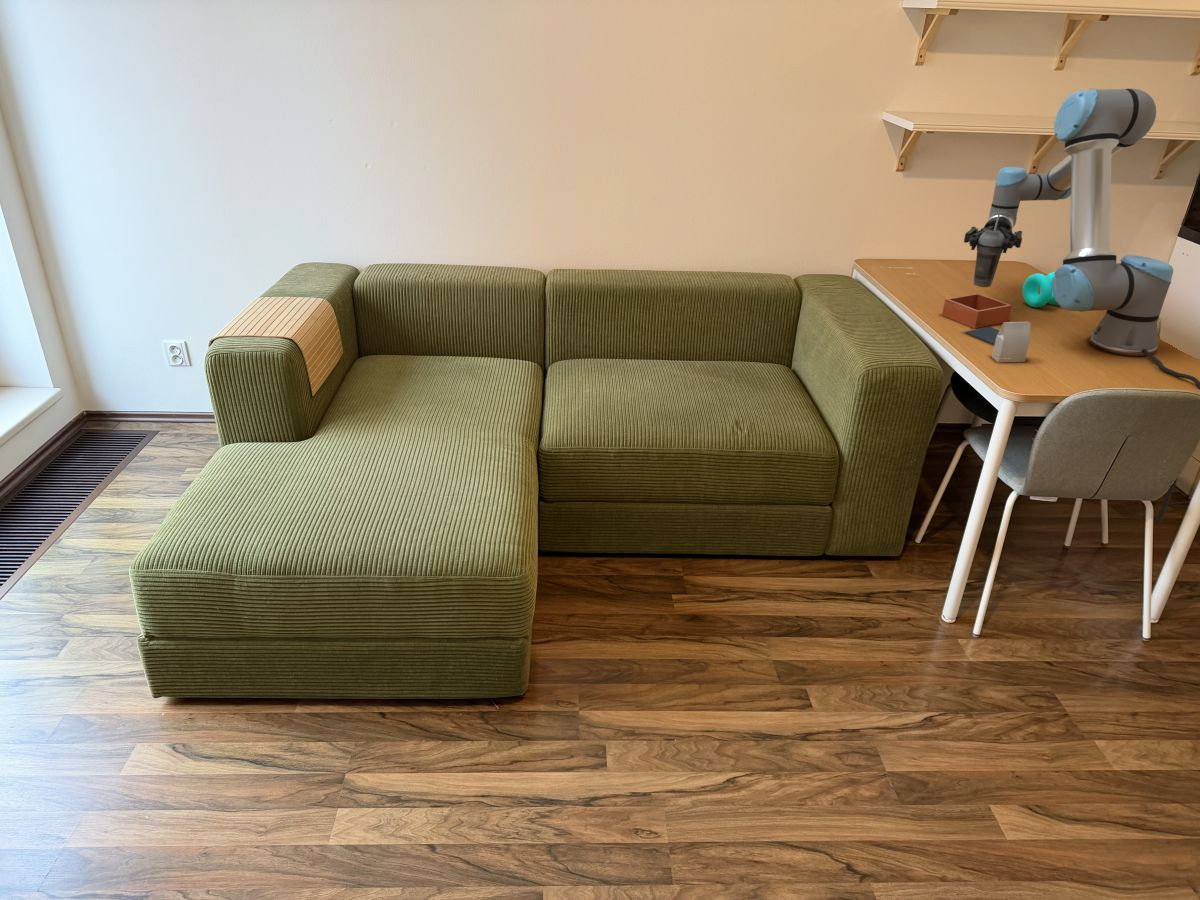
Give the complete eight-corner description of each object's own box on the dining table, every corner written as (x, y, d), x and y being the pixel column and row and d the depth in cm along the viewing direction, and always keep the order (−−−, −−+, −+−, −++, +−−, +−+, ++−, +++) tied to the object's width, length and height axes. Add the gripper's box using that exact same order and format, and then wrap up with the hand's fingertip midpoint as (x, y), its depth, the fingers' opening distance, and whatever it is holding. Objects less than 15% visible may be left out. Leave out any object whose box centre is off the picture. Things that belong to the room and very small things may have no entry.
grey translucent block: (1024, 361, 204) (1034, 324, 199) (998, 362, 203) (1007, 325, 199) (1017, 356, 207) (1026, 319, 202) (991, 356, 207) (1000, 320, 202)
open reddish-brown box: (1008, 321, 229) (1012, 305, 227) (974, 328, 225) (978, 311, 223) (974, 309, 240) (977, 293, 237) (941, 315, 235) (945, 298, 233)
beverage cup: (991, 281, 230) (1006, 210, 221) (999, 288, 224) (1016, 216, 214) (965, 280, 231) (979, 210, 221) (972, 288, 224) (988, 216, 215)
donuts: (1069, 308, 238) (1077, 275, 234) (1041, 312, 236) (1049, 279, 231) (1043, 298, 247) (1052, 266, 242) (1016, 302, 244) (1024, 270, 240)
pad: (1018, 339, 217) (1019, 338, 217) (993, 345, 214) (994, 343, 214) (989, 328, 225) (990, 326, 225) (965, 333, 222) (965, 331, 222)
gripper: (1032, 245, 233) (1026, 264, 215) (958, 238, 241) (947, 256, 224) (1039, 219, 229) (1033, 236, 212) (963, 212, 238) (952, 229, 220)
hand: (989, 246), depth 218 cm, fingers closed on beverage cup, 7 cm apart
